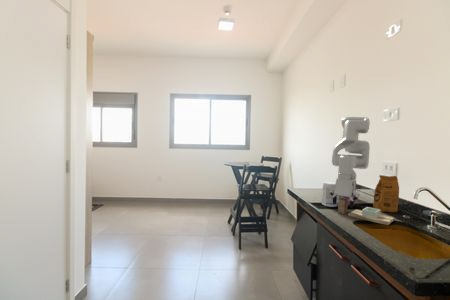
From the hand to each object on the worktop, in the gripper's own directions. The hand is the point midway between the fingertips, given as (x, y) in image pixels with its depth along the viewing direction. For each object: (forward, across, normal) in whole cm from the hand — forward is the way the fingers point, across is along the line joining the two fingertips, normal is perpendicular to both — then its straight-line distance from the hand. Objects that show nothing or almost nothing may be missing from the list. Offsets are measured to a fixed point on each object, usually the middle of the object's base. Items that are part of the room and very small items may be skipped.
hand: (342, 205), depth 163 cm
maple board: (+4, -15, -2) cm, 16 cm away
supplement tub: (+4, +12, -10) cm, 17 cm away
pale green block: (+3, -15, -2) cm, 15 cm away
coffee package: (+4, -16, -28) cm, 32 cm away
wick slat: (+4, 0, 0) cm, 4 cm away
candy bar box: (+4, +5, -20) cm, 22 cm away
